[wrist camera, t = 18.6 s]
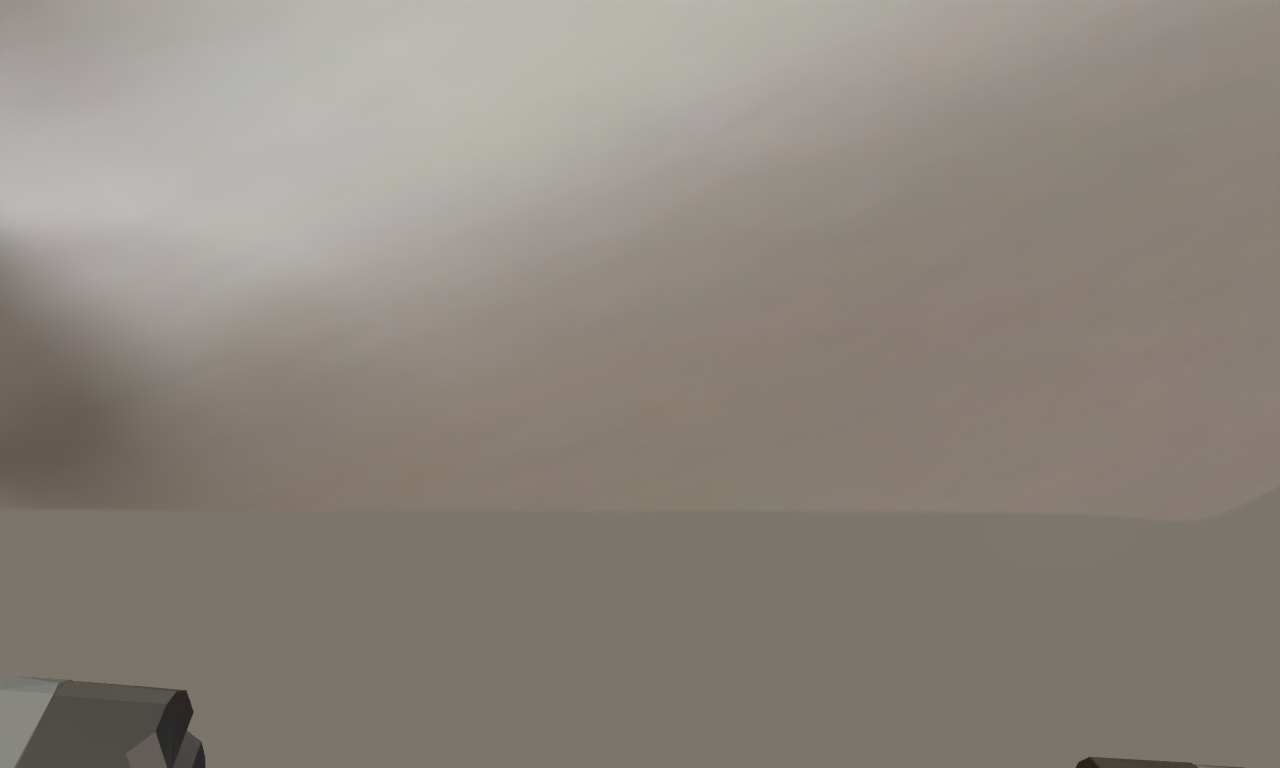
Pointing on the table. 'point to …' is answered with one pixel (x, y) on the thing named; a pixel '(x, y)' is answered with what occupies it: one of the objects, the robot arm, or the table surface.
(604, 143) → the table surface
